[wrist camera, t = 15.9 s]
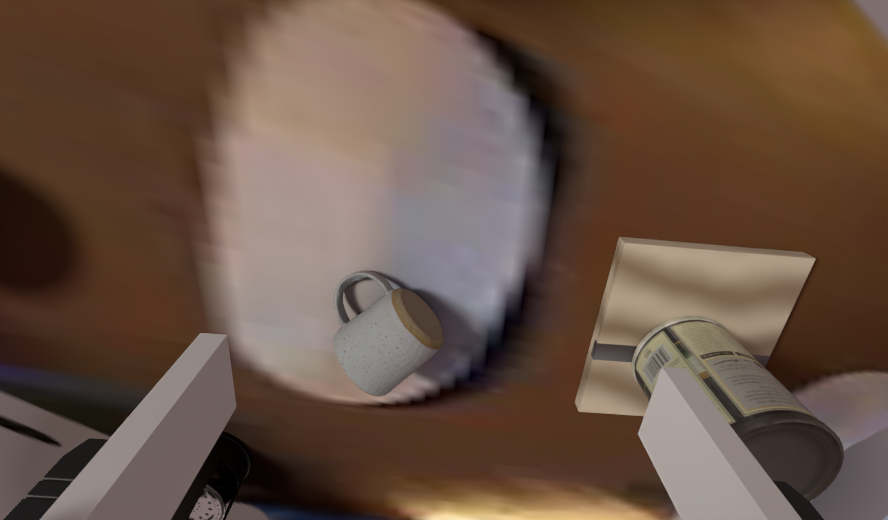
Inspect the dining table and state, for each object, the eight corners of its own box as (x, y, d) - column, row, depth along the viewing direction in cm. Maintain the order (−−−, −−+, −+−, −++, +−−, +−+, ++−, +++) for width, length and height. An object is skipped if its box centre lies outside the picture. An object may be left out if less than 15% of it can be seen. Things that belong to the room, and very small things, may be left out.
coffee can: (722, 395, 49) (821, 517, 36) (625, 398, 49) (689, 521, 36) (744, 312, 44) (866, 418, 32) (637, 316, 45) (716, 423, 32)
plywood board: (619, 236, 43) (625, 243, 41) (804, 252, 44) (816, 259, 42) (575, 401, 51) (578, 411, 50) (731, 412, 52) (739, 422, 50)
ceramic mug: (449, 318, 47) (449, 364, 40) (393, 362, 49) (383, 413, 42) (375, 247, 44) (361, 283, 36) (318, 298, 46) (294, 341, 39)
